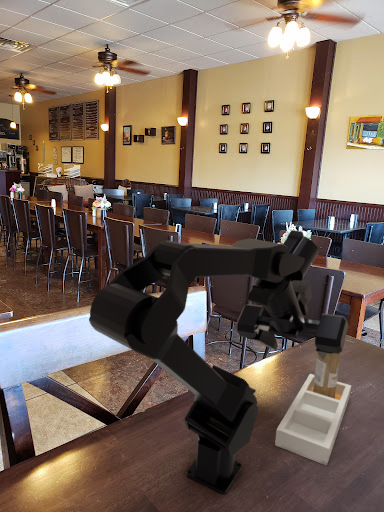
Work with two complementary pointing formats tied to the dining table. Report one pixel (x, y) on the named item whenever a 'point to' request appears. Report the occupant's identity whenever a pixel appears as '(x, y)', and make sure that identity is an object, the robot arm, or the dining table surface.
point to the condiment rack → (313, 422)
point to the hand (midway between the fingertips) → (299, 352)
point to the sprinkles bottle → (326, 375)
